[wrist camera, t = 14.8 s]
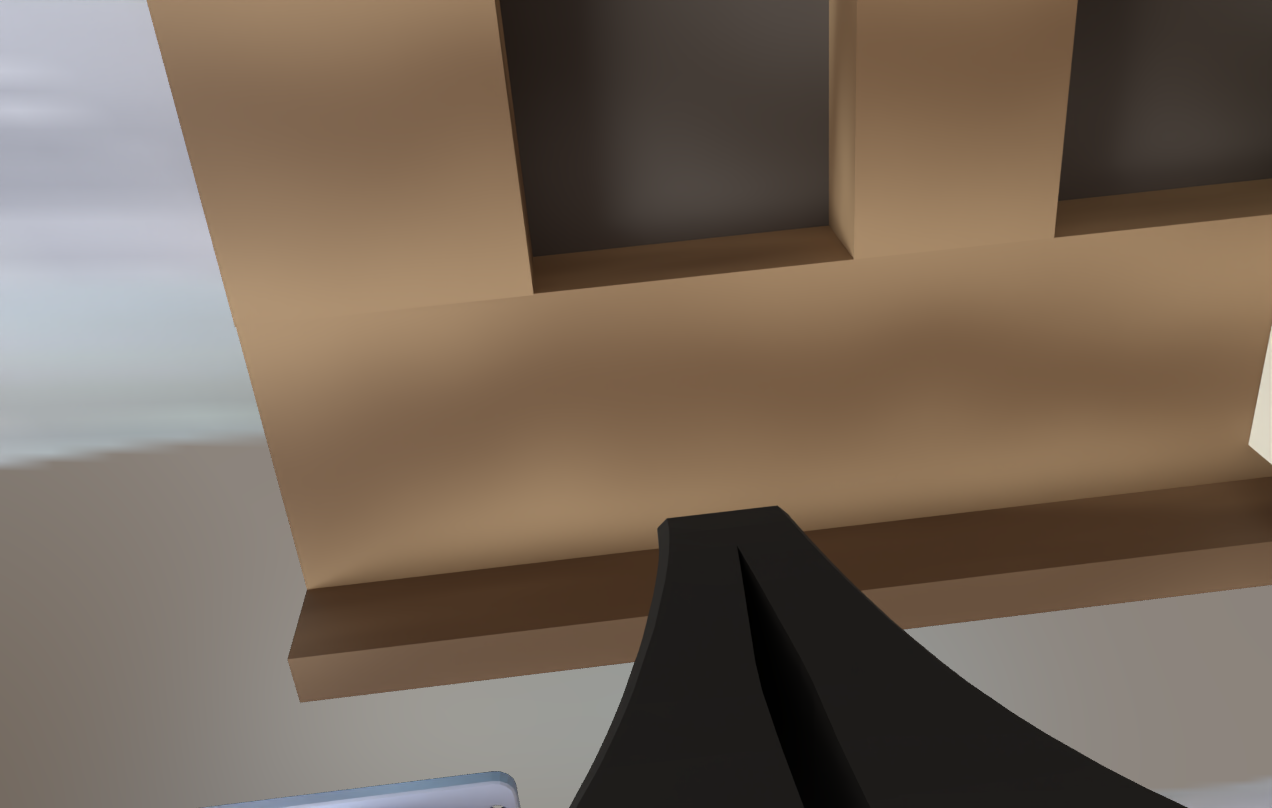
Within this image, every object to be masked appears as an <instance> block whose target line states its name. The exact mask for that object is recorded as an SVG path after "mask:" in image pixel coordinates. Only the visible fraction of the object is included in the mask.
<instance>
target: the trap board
mask: <svg viewBox="0 0 1272 808" xmlns="http://www.w3.org/2000/svg"><path fill="white" fill-rule="evenodd" d="M147 3H148V7H149V11H150V15H151V18H152V22H153V26H154V29H155V33H156V37H157V40H158V44H159V48H160V51H161V55H162V59H163V63H164V66H165V70H166V74H167V77H168V81H169V85H170V88H171V92H172V96H173V99H174V103H175V107H176V111H177V114H178V118H179V122H180V125H181V129H182V133H183V136H184V140H185V144H186V147H187V151H188V155H189V159H190V162H191V166H192V170H193V173H194V177H195V181H196V184H197V188H198V192H199V195H200V199H201V203H202V207H203V210H204V214H205V218H206V221H207V225H208V229H209V232H210V236H211V240H212V243H213V247H214V251H215V255H216V258H217V262H218V266H219V269H220V273H221V277H222V280H223V284H224V288H225V291H226V295H227V299H228V303H229V306H230V310H231V314H232V317H233V321H234V325H235V327H236V328H237V332H238V336H239V339H240V343H241V347H242V351H243V354H244V358H245V362H246V365H247V369H248V373H249V376H250V380H251V384H252V388H253V391H254V395H255V399H256V402H257V406H258V410H259V413H260V417H261V421H262V425H263V428H264V432H265V436H266V439H267V443H268V447H269V450H270V454H271V458H272V461H273V465H274V469H275V473H276V476H277V480H278V484H279V487H280V491H281V495H282V499H283V502H284V506H285V509H286V513H287V517H288V521H289V524H290V528H291V532H292V536H293V539H294V543H295V547H296V550H297V554H298V558H299V561H300V565H301V569H302V572H303V576H304V580H305V584H306V587H307V592H306V595H305V599H304V602H303V606H302V610H301V614H300V617H299V620H298V624H297V628H296V631H295V635H294V638H293V642H292V645H291V649H290V652H289V656H288V663H289V666H290V669H291V673H292V676H293V680H294V683H295V687H296V690H297V693H298V697H299V700H300V702H308V701H317V700H325V699H333V698H341V697H350V696H358V695H366V694H374V693H383V692H391V691H399V690H407V689H416V688H423V687H432V686H440V685H448V684H456V683H465V682H473V681H481V680H489V679H498V678H506V677H515V676H522V675H531V674H539V673H548V672H555V671H564V670H572V669H581V668H589V667H597V666H605V665H614V664H622V663H630V662H635V660H636V657H637V654H638V651H639V648H640V645H641V641H642V638H643V634H644V630H645V626H646V622H647V618H648V614H649V610H650V606H651V602H652V598H653V594H654V588H655V582H656V576H657V569H658V560H659V545H658V533H657V528H658V527H659V526H660V525H661V524H662V523H663V522H664V521H665V520H666V519H667V518H674V517H682V516H691V515H699V514H708V513H717V512H725V511H734V510H742V509H751V508H760V507H768V506H777V505H778V506H779V507H780V508H781V509H783V510H784V511H785V512H786V513H788V515H789V516H790V517H791V518H792V519H793V520H794V521H795V523H796V524H797V525H798V526H799V527H800V528H801V529H802V531H803V532H804V533H805V534H806V535H807V536H808V537H809V538H810V539H811V540H812V542H813V543H814V544H815V545H816V546H817V547H818V548H819V549H820V550H821V551H822V552H823V553H824V554H825V555H826V556H827V558H828V559H829V560H830V561H831V562H832V563H833V564H834V565H835V566H836V567H837V568H838V569H839V570H840V571H841V572H842V573H843V574H844V575H845V576H846V577H847V578H848V579H849V580H850V581H851V582H852V583H853V584H854V585H855V586H856V587H857V588H858V589H859V590H860V591H861V592H863V593H864V594H865V595H866V596H867V597H868V598H869V599H870V600H871V601H872V602H873V603H874V604H875V605H876V606H877V607H879V608H880V609H881V610H882V611H883V612H884V613H885V614H886V615H887V616H888V617H889V618H890V619H891V620H893V621H894V622H895V623H896V624H897V625H898V626H899V627H901V628H902V629H911V628H919V627H926V626H934V625H943V624H951V623H960V622H968V621H976V620H985V619H992V618H1001V617H1010V616H1018V615H1026V614H1034V613H1043V612H1051V611H1059V610H1067V609H1076V608H1084V607H1091V606H1100V605H1109V604H1117V603H1125V602H1133V601H1142V600H1149V599H1158V598H1166V597H1174V596H1183V595H1191V594H1199V593H1207V592H1216V591H1223V590H1232V589H1241V588H1248V587H1256V586H1265V585H1272V464H1271V463H1269V462H1268V461H1267V460H1266V459H1265V458H1263V457H1262V456H1261V455H1260V454H1259V453H1258V452H1256V451H1255V450H1254V449H1253V448H1252V447H1250V446H1249V445H1248V444H1249V439H1250V434H1251V429H1252V424H1253V418H1254V413H1255V408H1256V403H1257V398H1258V393H1259V388H1260V383H1261V378H1262V373H1263V368H1264V362H1265V357H1266V352H1267V347H1268V342H1269V337H1270V332H1271V327H1272V0H147Z"/></svg>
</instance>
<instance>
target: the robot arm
mask: <svg viewBox="0 0 1272 808" xmlns="http://www.w3.org/2000/svg"><path fill="white" fill-rule="evenodd" d="M657 533H658V545H659V560H658V569H657V576H656V582H655V588H654V594H653V598H652V602H651V606H650V610H649V614H648V618H647V622H646V626H645V630H644V634H643V638H642V641H641V645H640V648H639V651H638V654H637V657H636V660H635V662H634V665H633V668H632V671H631V674H630V677H629V680H628V683H627V686H626V689H625V691H624V694H623V697H622V699H621V702H620V705H619V707H618V709H617V712H616V714H615V717H614V719H613V721H612V724H611V726H610V728H609V730H608V733H607V735H606V737H605V739H604V742H603V743H602V746H601V748H600V750H599V752H598V754H597V756H596V758H595V761H594V763H593V765H592V766H591V768H590V770H589V772H588V774H587V776H586V778H585V780H584V782H583V783H582V785H581V787H580V789H579V791H578V792H577V794H576V797H575V798H574V800H573V802H572V804H571V806H570V807H569V808H1187V807H1185V806H1183V805H1181V804H1179V803H1177V802H1175V801H1172V800H1170V799H1168V798H1166V797H1164V796H1162V795H1160V794H1158V793H1155V792H1153V791H1151V790H1149V789H1147V788H1145V787H1143V786H1141V785H1139V784H1137V783H1135V782H1133V781H1131V780H1129V779H1127V778H1125V777H1123V776H1121V775H1119V774H1117V773H1116V772H1114V771H1112V770H1110V769H1108V768H1106V767H1104V766H1102V765H1100V764H1099V763H1097V762H1095V761H1093V760H1092V759H1090V758H1088V757H1086V756H1084V755H1083V754H1081V753H1079V752H1077V751H1076V750H1074V749H1072V748H1070V747H1069V746H1067V745H1065V744H1063V743H1062V742H1060V741H1058V740H1056V739H1054V738H1053V737H1051V736H1049V735H1048V734H1046V733H1044V732H1043V731H1041V730H1039V729H1038V728H1036V727H1035V726H1033V725H1031V724H1030V723H1028V722H1026V721H1025V720H1023V719H1022V718H1020V717H1018V716H1017V715H1015V714H1014V713H1012V712H1011V711H1009V710H1008V709H1006V708H1005V707H1003V706H1002V705H1001V704H999V703H998V702H996V701H995V700H993V699H992V698H990V697H989V696H987V695H986V694H984V693H983V692H982V691H980V690H979V689H977V688H976V687H974V686H973V685H971V684H970V683H968V682H967V681H966V680H964V679H963V678H962V677H960V676H959V675H958V674H957V673H955V672H954V671H953V670H951V669H950V668H949V667H948V666H946V665H945V664H943V663H942V662H941V661H940V660H939V659H938V658H936V657H935V656H934V655H933V654H931V653H930V652H929V651H928V650H926V649H925V648H924V647H923V646H922V645H921V644H919V643H918V642H917V641H915V640H914V639H913V638H912V637H911V636H910V635H909V634H907V633H906V632H905V631H904V630H903V629H902V628H901V627H899V626H898V625H897V624H896V623H895V622H894V621H893V620H891V619H890V618H889V617H888V616H887V615H886V614H885V613H884V612H883V611H882V610H881V609H880V608H879V607H877V606H876V605H875V604H874V603H873V602H872V601H871V600H870V599H869V598H868V597H867V596H866V595H865V594H864V593H863V592H861V591H860V590H859V589H858V588H857V587H856V586H855V585H854V584H853V583H852V582H851V581H850V580H849V579H848V578H847V577H846V576H845V575H844V574H843V573H842V572H841V571H840V570H839V569H838V568H837V567H836V566H835V565H834V564H833V563H832V562H831V561H830V560H829V559H828V558H827V556H826V555H825V554H824V553H823V552H822V551H821V550H820V549H819V548H818V547H817V546H816V545H815V544H814V543H813V542H812V540H811V539H810V538H809V537H808V536H807V535H806V534H805V533H804V532H803V531H802V529H801V528H800V527H799V526H798V525H797V524H796V523H795V521H794V520H793V519H792V518H791V517H790V516H789V515H788V513H786V512H785V511H784V510H783V509H781V508H780V507H779V506H778V505H777V506H768V507H760V508H751V509H742V510H734V511H725V512H717V513H708V514H699V515H691V516H682V517H674V518H667V519H666V520H665V521H664V522H663V523H662V524H661V525H660V526H659V527H658V528H657ZM495 805H500V806H504V807H502V808H520V803H519V798H518V792H517V787H516V783H515V781H514V779H513V778H512V777H511V776H510V775H508V774H506V773H503V772H499V771H498V772H497V771H491V772H484V773H475V774H467V775H460V776H452V777H443V778H435V779H427V780H420V781H411V782H403V783H395V784H387V785H379V786H371V787H364V788H355V789H347V790H339V791H331V792H323V793H315V794H307V795H299V796H291V797H283V798H274V799H266V800H258V801H251V802H243V803H235V804H226V805H218V806H211V807H202V808H493V807H492V806H495Z"/></svg>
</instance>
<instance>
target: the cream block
mask: <svg viewBox="0 0 1272 808" xmlns="http://www.w3.org/2000/svg"><path fill="white" fill-rule="evenodd" d="M1248 445H1249V446H1250V447H1252V448H1253V449H1254V450H1255V451H1256V452H1258V453H1259V454H1260V455H1261V456H1262V457H1263V458H1265V459H1266V460H1267V461H1268V462H1269V463H1271V464H1272V327H1271V332H1270V337H1269V342H1268V347H1267V352H1266V357H1265V362H1264V368H1263V373H1262V378H1261V383H1260V388H1259V393H1258V398H1257V403H1256V408H1255V413H1254V418H1253V424H1252V429H1251V434H1250V439H1249V444H1248Z"/></svg>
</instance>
